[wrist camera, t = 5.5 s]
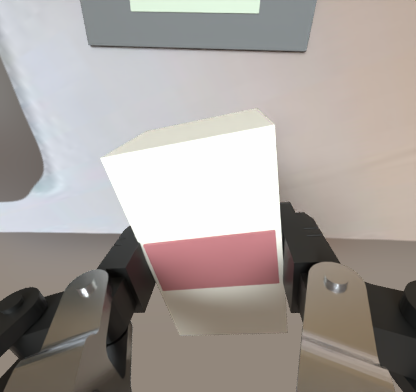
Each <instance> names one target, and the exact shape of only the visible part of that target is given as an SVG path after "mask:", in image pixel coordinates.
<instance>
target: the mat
mask: <svg viewBox="0 0 416 392" xmlns="http://www.w3.org/2000/svg"><path fill="white" fill-rule="evenodd" d="M316 1H317V0H80V3H81V8H82V13H83V18H84V24H85V29H86V34H87V40H88V45H91V46H123V47H158V48H193V49H228V50H264V51H299V52H305V51H306V49H307V44H308V40H309V35H310V30H311V25H312V20H313V16H314V11H315V6H316Z"/></svg>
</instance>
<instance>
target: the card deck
mask: <svg viewBox="0 0 416 392" xmlns="http://www.w3.org/2000/svg"><path fill="white" fill-rule="evenodd" d="M101 161H102V163H103V165H104V167H105V169H106V172H107V174H108V176H109V178H110V181H111V183H112V185H113V187H114V190H115V192H116V194H117V196H118V199H119V201H120V203H121V205H122V207H123V210H124V212H125V214H126V216H127V219H128V221H129V223H130V225H131V228H132V230H133V232H134V234H135V237H136V239H137V241H138V242H140V244H141V247H142V250H143V253H144V256H145V258H146V261H147V263H148V266H149V268H150V270H151V272H152V275H153V277H154V279H155V281H156V284H157V286H158V288H159V290H160V292H161V295H162V296H163V299H164V301H165V304H166V306H167V308H168V310H169V313H170V315H171V317H172V319H173V322H174V324H175V326H176V328H177V330H178V333H179V335H180V336H191V335H192V336H193V335H228V334H265V333H288V330H287V314H286V298H285V289H284V285H283V249H282V234H281V218H280V202H279V186H278V170H277V154H276V139H275V125H274V124H273V123H272V122H271V121H270V120H269V119H268V118H267V117H266V116H265V115H264V114H263V113H262V112H260V111H259V110H258V109H257V108H255V109H251V110H246V111H241V112H236V113H231V114H226V115H222V116H217V117H212V118H207V119H202V120H197V121H193V122H188V123H183V124H178V125H173V126H168V127H163V128H159V129H154V130H149V131H146V132H144V133H142V134H141V135H139V136H137V137H135V138H134V139H132V140H130V141H129V142H127V143H125V144H123V145H122V146H120V147H118V148H117V149H115V150H113V151H111V152H110V153H108V154H106V155H105V156H103V157H101Z"/></svg>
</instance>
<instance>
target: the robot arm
mask: <svg viewBox="0 0 416 392" xmlns="http://www.w3.org/2000/svg"><path fill="white" fill-rule="evenodd" d="M280 218H281V234H282V249H283V285H284V289H285V292H286V296H287V300H288V303H289V307H290V311H291V313H300V315H301V318H302V322H303V328H302V338H301V349H300V358H299V367H298V377H297V387H296V392H395V389H394V385H393V381H392V378H393V379H394V380H395V382H396V383H397V384H398V386H399V387H400V388H401V389H402V391H403V392H416V281H413V282H410V283H408V284H407V286H406V288H405V290H404V291H399V290H395V289H390V288H386V287H381V286H376V285H373V284H369V283H366V282H364V281H363V279H362V278H361V277H360V276H359V275H358V274H357V273H356V272H355V271H354V270H352V269H350V268H349V267H347V266H345V265H342V264H340V262H339V261H338V259H337V257H336V255H335V254H334V252H333V251H332V249H331V247H330V246H329V244H328V242H327V241H326V239H325V237H324V236H323V234H322V233H321V231H320V229H318V226H317V224H316V223H315V221H314V219H313V218H311V217H310V216H308V215H307V214H305V213H304V212H301V213H295V211H294V209H293V207H292V205H291V203H290V202H281V203H280ZM155 283H156V281H155V279H154V277H153V275H152V272H151V270H150V268H149V266H148V263H147V261H146V258H145V256H144V253H143V250H142V247H141V244H140V242H138V241H137V239H136V237H135V234H134V232H133V230H132V228H131V225H130V226H129V227H128V228H126V229H125V230H124V231H123V233H122V234H121V236H120V237H119V239H118V240H117V241H116V243H115V244H114V246H113V247H112V248H111V250H110V251H109V252H108V254H107V255H106V257H105V258H104V259H103V261H102V262H101V264H100V265H99V267H98V268H97V269H96V270H91V271H88V272H86V273H83V274H82V275H80V276H78V277H77V278H76V279H74V280H73V281H72V282H71V283H70V284H69V285H68V286H67V288H66V289H65V291H63V292H60V293H56V294H53V295H50V296H47V297H43V295H42V294H41V293H40V291H39V290H38V289H37V288H33V287H30V288H25V289H22V290H19V291H16V292H14V293H12V294H11V295H9V296H7V297H6V298H4V299H3V300H2V301H0V357H1V356H2V355H3V354H4V353H5V352H6V351H7V350H8V349H10V350H11V351H12V352H13V353H14V354H15V355H16V356H17V357H18V358H19V359H18V360H17V361H16V362H15V363H14V364H13V365H12V366H11V367H10V368H9V369H8V370H7V372H6V373H5V374H4V375H3V376H2V377H1V378H0V392H132V390H131V357H132V330H133V329H132V328H133V327H132V323H131V321H130V320H131V318H132V315H133V313H144V312H145V310H146V307H147V304H148V302H149V299H150V297H151V294H152V291H153V288H154V286H155ZM391 376H392V378H391Z"/></svg>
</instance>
